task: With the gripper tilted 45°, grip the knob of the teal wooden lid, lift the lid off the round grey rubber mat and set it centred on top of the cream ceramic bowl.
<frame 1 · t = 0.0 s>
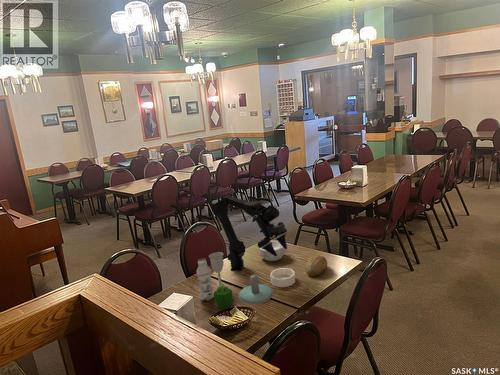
hand: (281, 252, 175), 15 cm above the table, tool tilted 35°, fingers open, 9 cm apart
lid: (255, 293, 168), resting on mat
paper bowls: (273, 258, 206), on the table
bell pepper: (225, 306, 161), on the table
plastic bottle: (207, 299, 169), on the table
bowl: (283, 281, 177), on the table
bread roll: (317, 272, 184), on the table
chalice: (221, 288, 178), on the table
mat: (256, 294, 168), on the table
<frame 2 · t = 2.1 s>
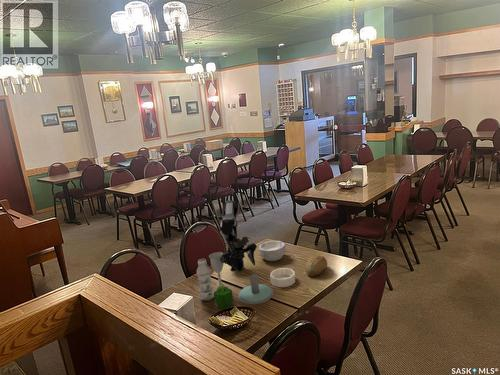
hand: (246, 268, 169), 12 cm above the table, tool tilted 45°, fingers open, 9 cm apart
nothing on the table moved.
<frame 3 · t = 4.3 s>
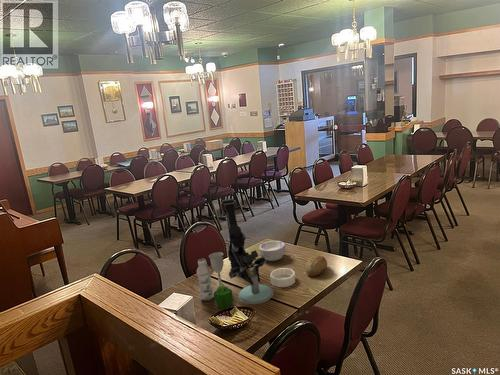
hand: (256, 283, 165), 7 cm above the table, tool tilted 45°, fingers closed on lid, 4 cm apart
lid: (255, 293, 168), resting on mat, touching gripper
everything else where it was.
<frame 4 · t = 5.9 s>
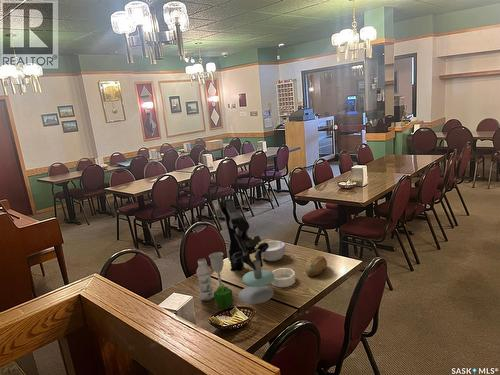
hand: (258, 268, 165), 13 cm above the table, tool tilted 45°, fingers closed on lid, 4 cm apart
lid: (258, 278, 168), point 7 cm above the table, touching gripper
everything else where it was.
when the fingers open (11 cm above the table, at t = 7.6 s): lid stays where it is, resting on bowl.
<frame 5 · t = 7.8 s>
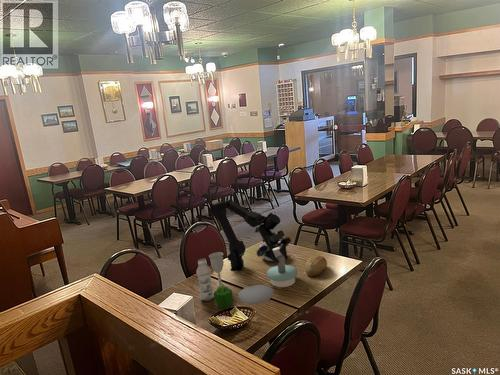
hand: (282, 261, 173), 12 cm above the table, tool tilted 45°, fingers open, 5 cm apart
lid: (282, 273, 176), point 4 cm above the table, touching bowl
everything else where it was.
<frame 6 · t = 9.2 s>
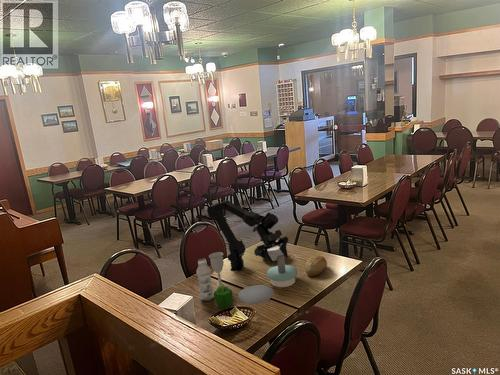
hand: (280, 260, 175), 11 cm above the table, tool tilted 45°, fingers open, 9 cm apart
nothing on the table moved.
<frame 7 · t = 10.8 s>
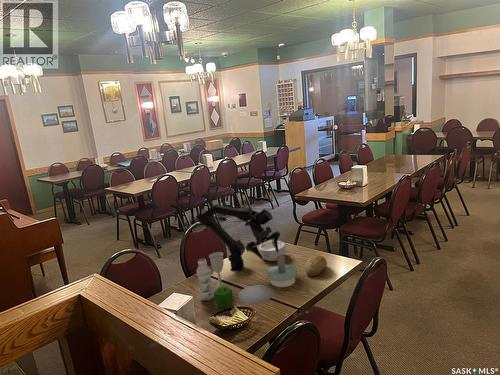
hand: (270, 255, 182), 11 cm above the table, tool tilted 40°, fingers open, 9 cm apart
nothing on the table moved.
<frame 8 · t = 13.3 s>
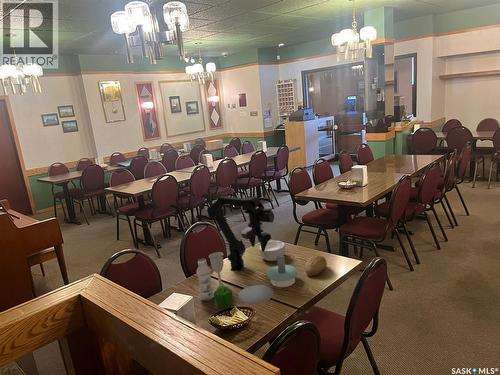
hand: (258, 249, 188), 13 cm above the table, tool pointing down, fingers open, 9 cm apart
nothing on the table moved.
at the end: lid 0.0 cm from the bowl (horizontally); lid point 4.5 cm above the table; lid tilted 0° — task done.
